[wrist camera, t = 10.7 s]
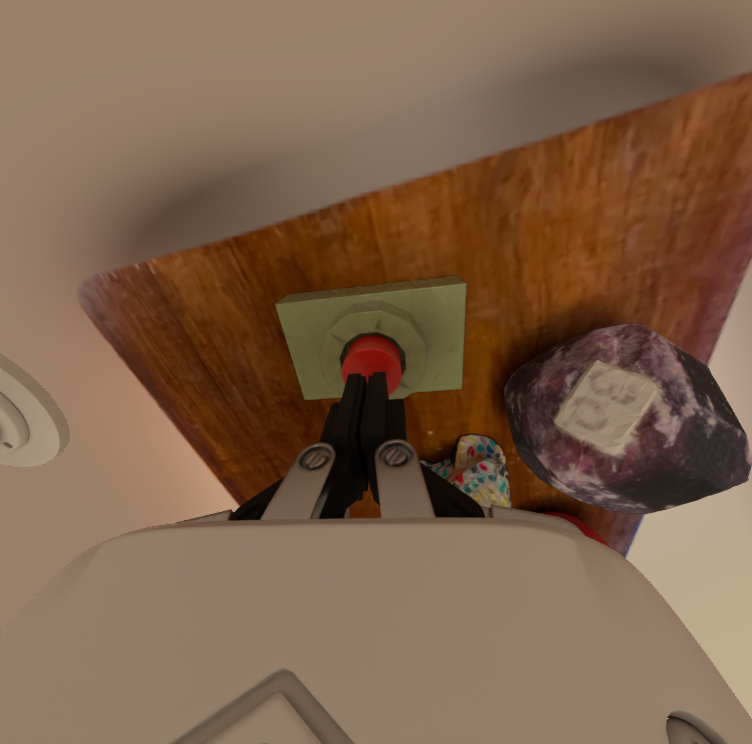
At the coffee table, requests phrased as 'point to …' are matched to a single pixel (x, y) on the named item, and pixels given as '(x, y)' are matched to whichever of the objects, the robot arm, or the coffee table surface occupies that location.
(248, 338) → the coffee table surface
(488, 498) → the figurine
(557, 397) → the mineral specimen
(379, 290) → the button box
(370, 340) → the button
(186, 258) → the coffee table surface
